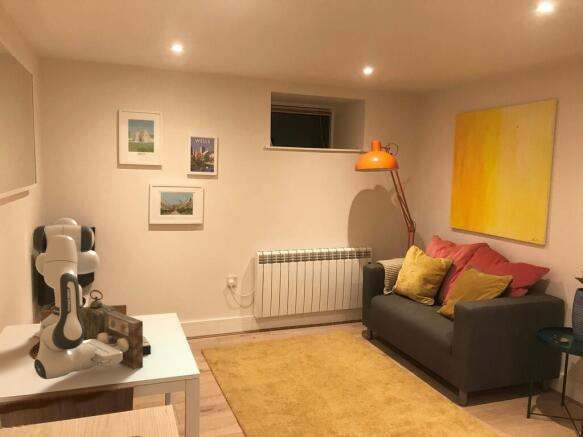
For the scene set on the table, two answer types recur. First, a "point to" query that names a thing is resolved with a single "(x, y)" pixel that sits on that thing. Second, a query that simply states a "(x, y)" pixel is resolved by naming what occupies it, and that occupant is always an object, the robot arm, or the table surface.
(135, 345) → the button panel
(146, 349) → the calculator
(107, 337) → the button
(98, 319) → the tabletop clock
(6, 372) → the table surface
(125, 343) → the button
